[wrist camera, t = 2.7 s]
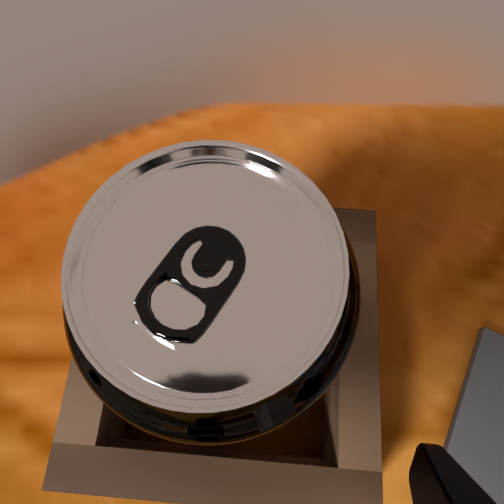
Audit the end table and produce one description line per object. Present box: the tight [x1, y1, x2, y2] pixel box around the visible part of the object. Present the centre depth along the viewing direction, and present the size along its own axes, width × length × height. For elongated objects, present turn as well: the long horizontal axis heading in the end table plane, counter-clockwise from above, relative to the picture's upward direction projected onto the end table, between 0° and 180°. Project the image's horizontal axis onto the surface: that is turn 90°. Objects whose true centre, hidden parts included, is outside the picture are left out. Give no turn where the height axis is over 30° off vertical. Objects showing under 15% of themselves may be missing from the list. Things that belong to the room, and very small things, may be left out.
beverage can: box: [61, 140, 361, 445], centre depth 14 cm, size 7×7×12 cm
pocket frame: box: [42, 208, 383, 504], centre depth 18 cm, size 12×12×4 cm
